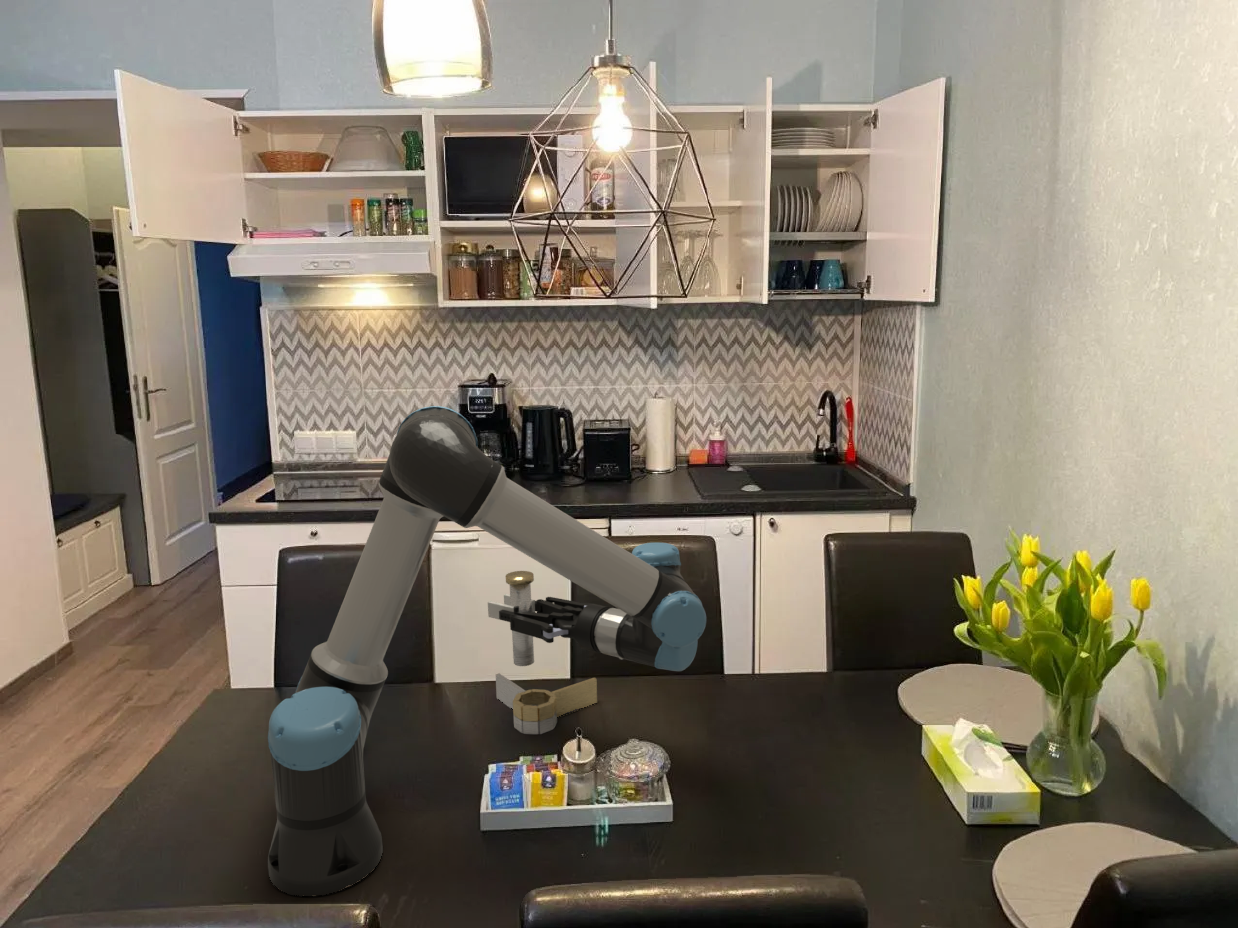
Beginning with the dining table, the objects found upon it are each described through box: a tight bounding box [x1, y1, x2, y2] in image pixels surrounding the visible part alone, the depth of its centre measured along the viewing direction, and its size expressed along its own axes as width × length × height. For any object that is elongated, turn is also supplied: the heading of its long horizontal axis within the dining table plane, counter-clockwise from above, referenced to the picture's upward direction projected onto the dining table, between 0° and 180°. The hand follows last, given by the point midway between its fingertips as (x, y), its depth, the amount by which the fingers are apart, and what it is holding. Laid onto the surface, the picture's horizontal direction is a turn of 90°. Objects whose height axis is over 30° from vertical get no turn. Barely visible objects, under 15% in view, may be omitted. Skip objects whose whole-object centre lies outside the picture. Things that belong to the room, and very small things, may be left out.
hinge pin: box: [505, 570, 535, 667], centre depth 156 cm, size 5×5×16 cm
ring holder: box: [495, 672, 598, 735], centre depth 165 cm, size 14×20×5 cm
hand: (497, 605), depth 159 cm, fingers closed on hinge pin, 4 cm apart
